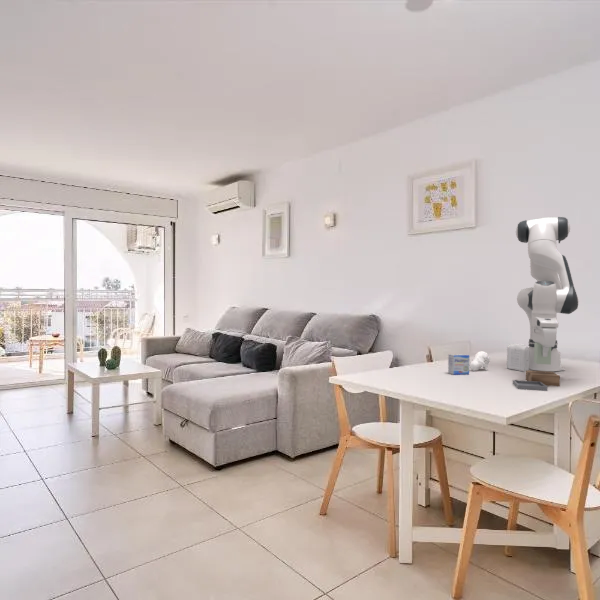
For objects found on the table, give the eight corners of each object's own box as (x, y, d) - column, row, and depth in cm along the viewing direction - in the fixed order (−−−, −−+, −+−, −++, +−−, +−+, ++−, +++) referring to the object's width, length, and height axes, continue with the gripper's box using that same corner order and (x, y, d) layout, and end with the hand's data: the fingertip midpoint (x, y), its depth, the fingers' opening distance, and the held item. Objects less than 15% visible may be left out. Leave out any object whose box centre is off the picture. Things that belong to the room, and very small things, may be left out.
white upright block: (530, 371, 211) (531, 344, 211) (524, 372, 209) (525, 345, 209) (511, 368, 220) (511, 342, 220) (505, 368, 218) (505, 342, 218)
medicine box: (453, 375, 199) (453, 355, 199) (447, 373, 203) (448, 353, 203) (469, 374, 201) (469, 355, 200) (463, 372, 205) (464, 353, 205)
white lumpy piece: (490, 351, 214) (477, 355, 206) (491, 369, 214) (478, 374, 207) (478, 349, 218) (464, 354, 211) (478, 367, 219) (465, 372, 212)
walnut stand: (525, 379, 190) (525, 370, 190) (552, 381, 187) (552, 371, 187) (531, 384, 180) (531, 374, 180) (559, 386, 178) (559, 375, 177)
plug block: (533, 361, 187) (534, 342, 187) (547, 362, 186) (547, 342, 185) (536, 363, 182) (537, 343, 182) (550, 364, 181) (551, 344, 181)
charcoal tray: (512, 383, 181) (512, 380, 181) (540, 385, 178) (540, 381, 178) (518, 389, 171) (518, 385, 171) (547, 390, 169) (547, 386, 169)
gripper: (529, 319, 194) (527, 351, 195) (541, 322, 174) (540, 358, 175) (545, 319, 193) (544, 352, 193) (559, 323, 173) (558, 359, 173)
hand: (542, 355), depth 184 cm, fingers closed on plug block, 5 cm apart
